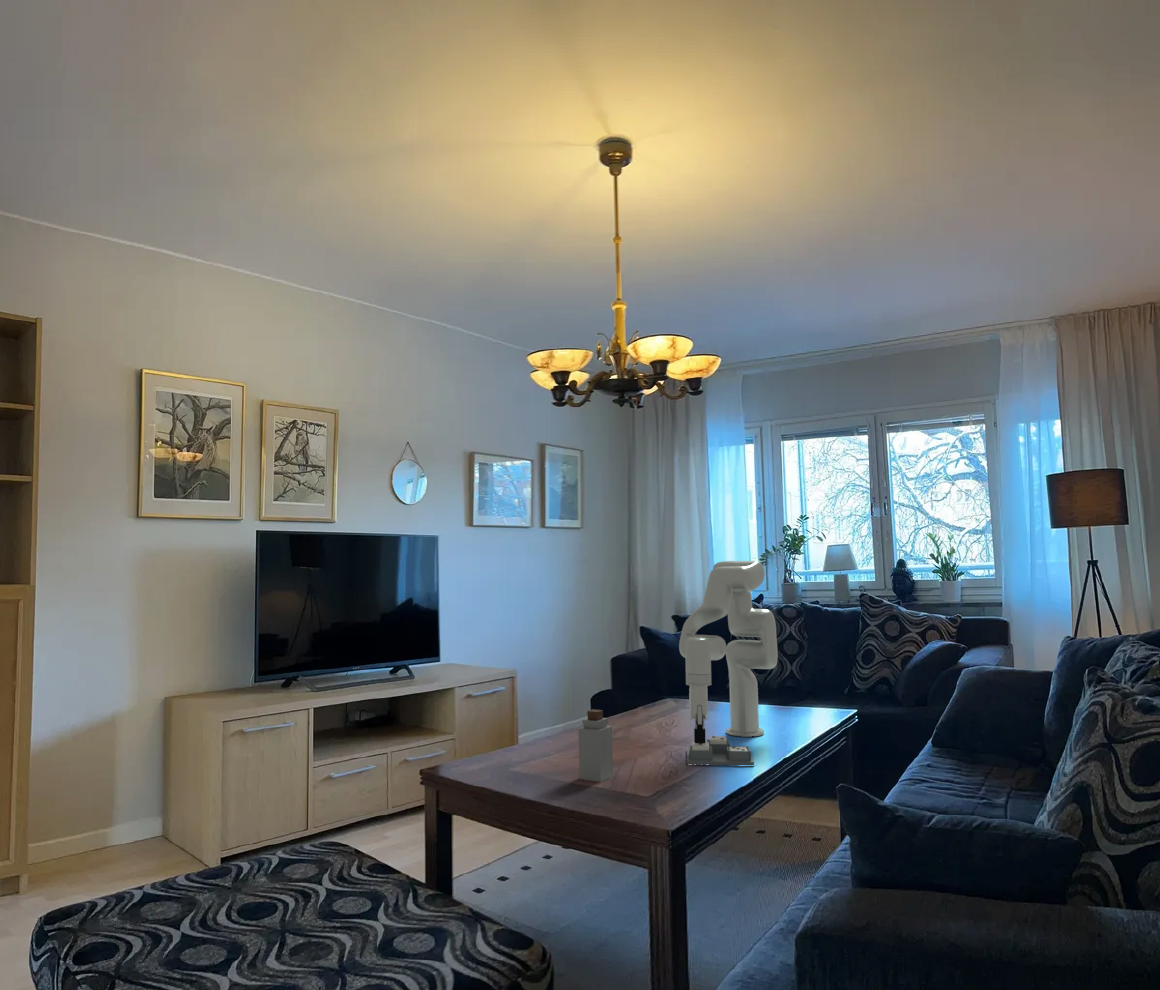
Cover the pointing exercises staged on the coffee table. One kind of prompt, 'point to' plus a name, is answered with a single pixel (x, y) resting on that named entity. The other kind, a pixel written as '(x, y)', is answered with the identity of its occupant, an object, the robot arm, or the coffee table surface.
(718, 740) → the button two
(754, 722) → the robot arm
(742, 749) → the button three
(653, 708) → the coffee table surface
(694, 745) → the button one
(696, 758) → the button board
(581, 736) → the perfume bottle
